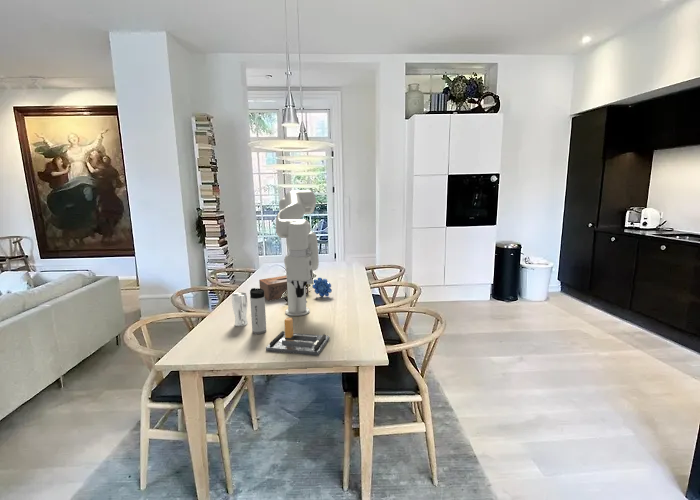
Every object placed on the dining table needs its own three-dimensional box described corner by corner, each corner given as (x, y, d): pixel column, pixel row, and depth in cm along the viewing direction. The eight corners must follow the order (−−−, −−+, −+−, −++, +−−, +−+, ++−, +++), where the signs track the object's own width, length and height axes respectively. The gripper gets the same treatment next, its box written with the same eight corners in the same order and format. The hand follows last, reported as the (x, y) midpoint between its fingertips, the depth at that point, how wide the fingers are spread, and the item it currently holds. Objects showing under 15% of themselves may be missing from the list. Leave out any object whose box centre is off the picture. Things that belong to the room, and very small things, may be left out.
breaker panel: (281, 335, 163) (281, 328, 162) (329, 339, 158) (329, 332, 157) (266, 350, 147) (265, 343, 147) (318, 355, 142) (317, 348, 142)
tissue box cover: (268, 301, 213) (267, 284, 211) (260, 295, 225) (259, 279, 223) (308, 293, 227) (307, 278, 225) (298, 288, 238) (297, 273, 237)
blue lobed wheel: (311, 298, 215) (310, 279, 213) (313, 295, 222) (312, 276, 220) (331, 298, 215) (330, 279, 212) (332, 295, 221) (331, 276, 219)
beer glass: (233, 322, 179) (231, 293, 176) (247, 320, 181) (246, 291, 179) (234, 327, 172) (231, 297, 170) (249, 325, 175) (247, 295, 172)
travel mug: (260, 327, 172) (257, 286, 168) (269, 331, 167) (266, 289, 164) (249, 331, 167) (246, 289, 163) (257, 335, 163) (255, 292, 159)
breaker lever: (287, 337, 155) (286, 317, 154) (294, 338, 154) (293, 317, 153) (284, 341, 152) (283, 320, 150) (291, 341, 151) (290, 320, 149)
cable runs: (282, 333, 161) (282, 330, 161) (326, 336, 156) (326, 333, 156) (269, 346, 148) (268, 342, 148) (316, 350, 144) (316, 347, 143)
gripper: (319, 251, 148) (320, 294, 151) (284, 250, 151) (286, 292, 155) (313, 255, 140) (314, 300, 144) (277, 254, 144) (279, 298, 147)
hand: (300, 296), depth 149 cm, fingers closed
